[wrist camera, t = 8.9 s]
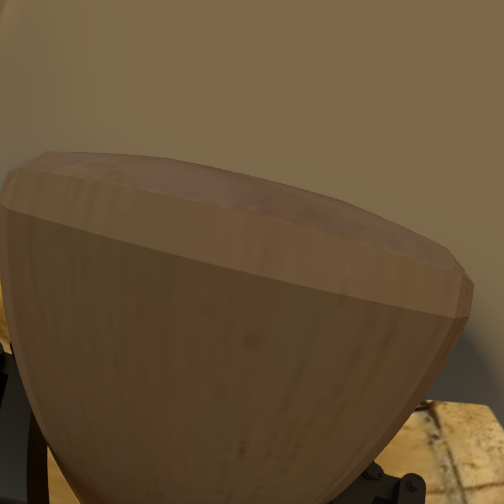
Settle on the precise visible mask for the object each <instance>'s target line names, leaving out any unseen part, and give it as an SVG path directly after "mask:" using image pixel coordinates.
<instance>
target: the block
mask: <svg viewBox="0 0 504 504" xmlns="http://www.w3.org/2000/svg"><path fill="white" fill-rule="evenodd" d="M0 278H1V287H2V295H3V302H4V308H5V314H6V319H7V324H8V329H9V334H10V339H11V343H12V347H13V351H14V355H15V359H16V362H17V366H18V369H19V373H20V376H21V379H22V382H23V385H24V388H25V391H26V394H27V397H28V400H29V403H30V405H31V408H32V410H33V413H34V415H35V418H36V420H37V423H38V425H39V427H40V430H41V432H42V434H43V436H44V439H45V441H46V443H47V445H48V447H49V449H50V451H51V453H52V455H53V457H54V459H55V461H56V463H57V465H58V466H59V468H60V470H61V472H62V474H63V475H64V477H65V479H66V481H67V482H68V484H69V486H70V487H71V489H72V490H73V492H74V494H75V495H76V497H77V498H78V500H79V501H80V503H81V504H329V503H330V502H332V501H333V500H334V499H335V498H336V497H337V496H338V495H339V494H341V493H342V492H343V491H344V490H345V489H346V488H347V487H348V486H349V485H350V484H351V483H352V482H353V481H354V480H355V479H356V478H357V477H358V476H359V475H360V474H361V473H362V472H363V471H364V470H365V469H366V468H367V467H368V466H369V465H370V464H371V463H372V462H373V461H374V459H375V458H376V457H377V456H378V455H379V454H380V453H381V452H382V450H383V449H384V448H385V447H386V446H387V445H388V443H389V442H390V441H391V440H392V439H393V437H394V436H395V435H396V434H397V433H398V431H399V430H400V429H401V427H402V426H403V425H404V424H405V422H406V421H407V420H408V418H409V417H410V416H411V414H412V413H413V412H414V410H415V409H416V407H417V406H418V405H419V403H420V402H421V400H422V399H423V397H424V396H425V394H426V393H427V391H428V390H429V388H430V387H431V385H432V384H433V382H434V381H435V379H436V377H437V375H438V374H439V373H440V371H441V369H442V368H443V366H444V364H445V362H446V361H447V359H448V357H449V355H450V354H451V352H452V350H453V348H454V346H455V345H456V343H457V341H458V339H459V337H460V335H461V333H462V331H463V329H464V326H465V325H466V323H467V321H468V319H469V316H470V312H471V305H472V298H473V290H474V284H473V282H472V280H471V279H470V278H469V276H468V274H467V273H466V272H465V270H464V269H463V267H462V266H461V265H460V263H459V262H458V261H457V260H456V258H455V257H454V256H453V255H452V254H451V252H450V251H449V250H448V249H447V248H446V247H444V246H442V245H440V244H438V243H436V242H434V241H432V240H430V239H428V238H426V237H424V236H422V235H419V234H417V233H415V232H413V231H411V230H409V229H407V228H405V227H402V226H400V225H398V224H396V223H394V222H391V221H389V220H387V219H384V218H382V217H380V216H378V215H375V214H373V213H371V212H368V211H366V210H363V209H361V208H359V207H356V206H354V205H351V204H349V203H347V202H344V201H341V200H338V199H334V198H332V197H328V196H325V195H321V194H318V193H314V192H311V191H307V190H304V189H300V188H296V187H293V186H289V185H285V184H281V183H277V182H273V181H269V180H266V179H262V178H257V177H253V176H249V175H245V174H240V173H236V172H232V171H227V170H223V169H219V168H214V167H209V166H204V165H200V164H194V163H190V162H185V161H180V160H174V159H168V158H160V157H150V156H138V155H125V154H109V153H88V152H87V153H86V152H45V153H42V154H40V155H39V156H36V157H34V158H32V159H30V160H29V161H26V162H25V163H23V164H21V165H19V166H17V167H15V168H14V169H12V170H10V171H8V173H7V176H6V178H5V181H4V184H3V187H2V190H1V193H0Z"/></svg>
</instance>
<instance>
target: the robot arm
mask: <svg viewBox="0 0 504 504" xmlns="http://www.w3.org/2000/svg"><path fill="white" fill-rule="evenodd" d="M7 2H8V0H0V23H1V20H2V17H3V13H4V10H5V7H6V5H7ZM10 347H11V351H12V354H9V353H7V352H4V349H3V346H2V344H1V343H0V504H50V503H49V491H48V470H47V443H46V441H45V439H44V436H43V434H42V432H41V430H40V427H39V425H38V423H37V420H36V418H35V415H34V413H33V410H32V408H31V405H30V403H29V400H28V397H27V394H26V391H25V388H24V385H23V382H22V379H21V376H20V373H19V369H18V366H17V362H16V359H15V355H14V351H13V347H12V343H10ZM425 495H426V484H425V481H424V480H423V478H422V477H421V476H419V475H417V474H415V473H409V474H406V475H404V476H403V477H402V478H397V477H393V476H389V475H387V474H384V471H383V469H382V468H381V466H379V465H378V464H376V463H375V462H374V461H373V462H372V463H371V464H370V465H369V466H368V467H367V468H366V469H365V470H364V471H363V472H362V473H361V474H360V475H359V476H358V477H357V478H356V479H355V480H354V481H353V482H352V483H351V484H350V485H349V486H348V487H347V488H346V489H345V490H344V491H343V492H342V493H341V494H339V495H338V496H337V497H336V498H335V499H334V500H333V501H332V502H330V503H329V504H425Z"/></svg>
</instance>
